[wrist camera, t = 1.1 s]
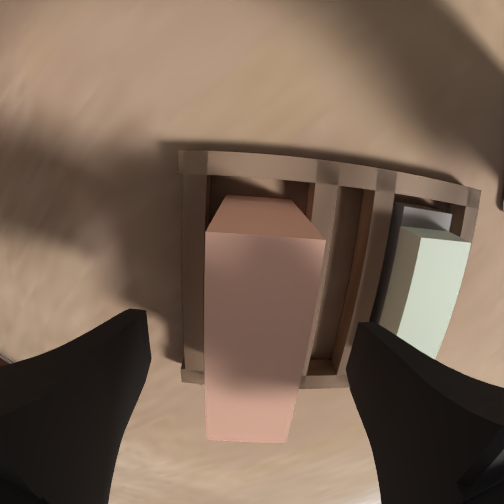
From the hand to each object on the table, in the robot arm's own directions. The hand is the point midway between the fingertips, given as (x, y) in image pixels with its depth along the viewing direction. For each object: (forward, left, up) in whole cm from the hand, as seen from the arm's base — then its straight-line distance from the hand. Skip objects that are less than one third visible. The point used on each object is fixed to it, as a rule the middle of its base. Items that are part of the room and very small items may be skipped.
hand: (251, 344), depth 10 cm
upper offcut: (-8, 0, -4) cm, 9 cm away
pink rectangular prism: (0, 0, -6) cm, 6 cm away
